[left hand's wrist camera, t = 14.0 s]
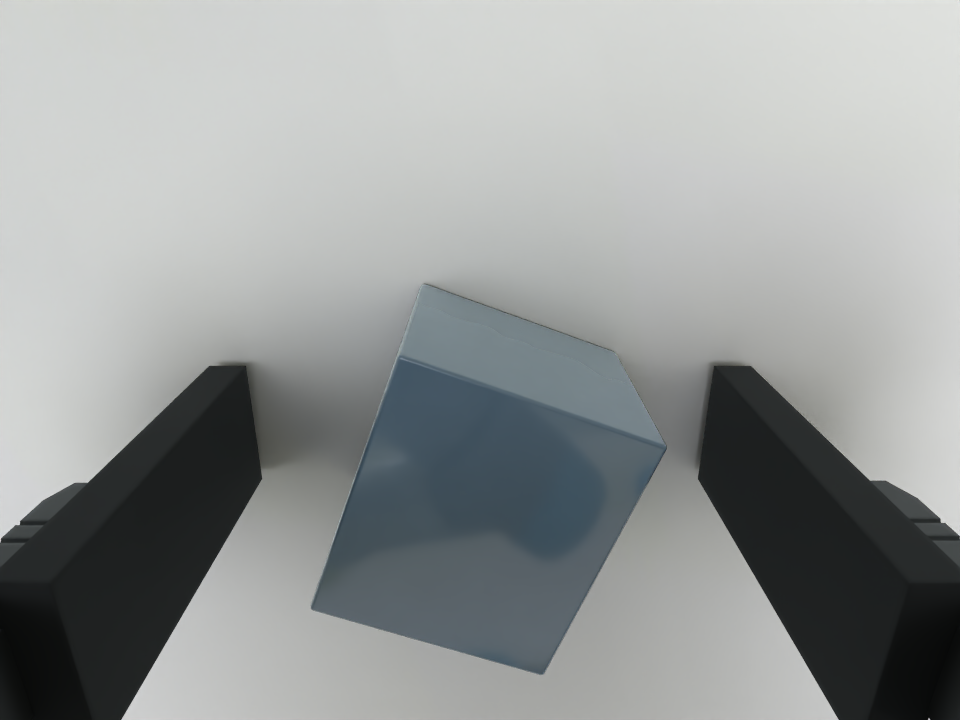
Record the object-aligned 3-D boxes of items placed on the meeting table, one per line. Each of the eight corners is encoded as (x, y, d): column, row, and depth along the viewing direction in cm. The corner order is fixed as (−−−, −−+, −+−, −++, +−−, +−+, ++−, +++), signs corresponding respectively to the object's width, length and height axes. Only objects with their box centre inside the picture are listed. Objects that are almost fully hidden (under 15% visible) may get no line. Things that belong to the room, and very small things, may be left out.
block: (527, 535, 15) (543, 677, 11) (353, 480, 15) (308, 611, 11) (616, 351, 14) (669, 447, 10) (421, 281, 13) (397, 354, 9)
